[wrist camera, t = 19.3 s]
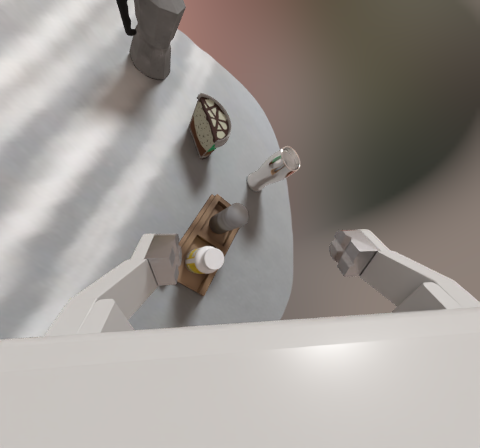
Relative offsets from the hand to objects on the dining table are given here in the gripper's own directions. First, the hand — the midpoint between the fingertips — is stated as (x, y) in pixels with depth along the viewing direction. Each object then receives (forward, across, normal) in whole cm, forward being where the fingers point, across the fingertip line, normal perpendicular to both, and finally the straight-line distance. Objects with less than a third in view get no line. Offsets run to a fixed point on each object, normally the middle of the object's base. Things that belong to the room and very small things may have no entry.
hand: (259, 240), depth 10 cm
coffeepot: (+56, -20, +9) cm, 60 cm away
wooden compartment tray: (+26, -6, -25) cm, 37 cm away
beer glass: (+46, +8, -18) cm, 50 cm away
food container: (+48, -6, -7) cm, 48 cm away
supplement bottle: (+22, -8, -26) cm, 35 cm away
